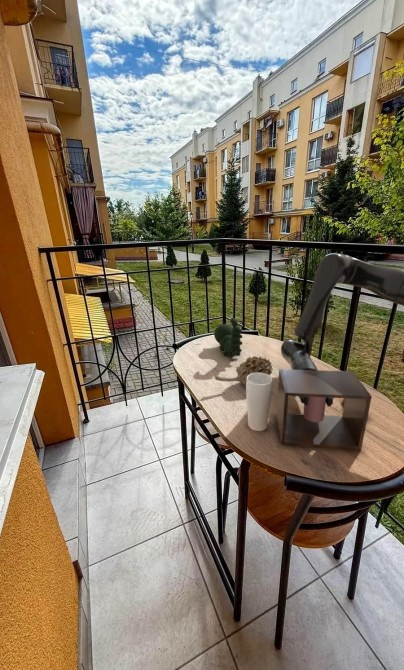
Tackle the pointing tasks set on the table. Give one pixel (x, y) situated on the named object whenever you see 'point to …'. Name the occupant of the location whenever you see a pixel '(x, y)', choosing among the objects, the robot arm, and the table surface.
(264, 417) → the drinking glass
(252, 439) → the table surface
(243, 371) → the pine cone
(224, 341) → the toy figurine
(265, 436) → the table surface
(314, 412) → the pink canister
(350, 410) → the cubby cabinet
